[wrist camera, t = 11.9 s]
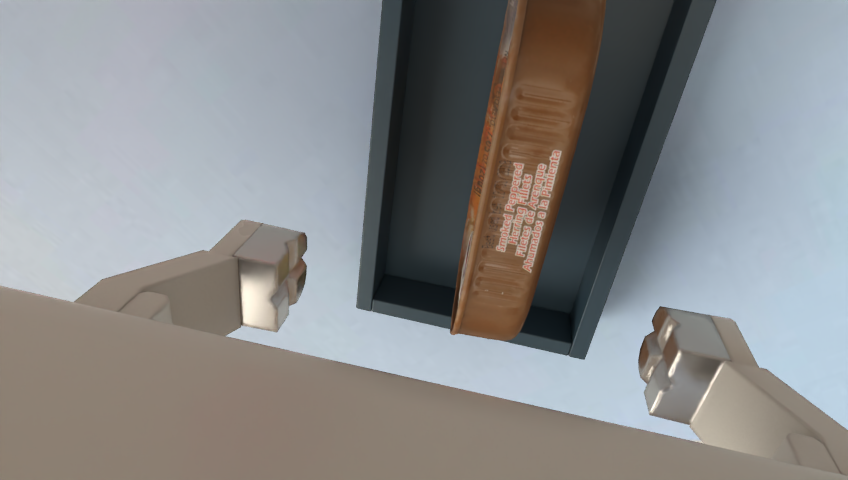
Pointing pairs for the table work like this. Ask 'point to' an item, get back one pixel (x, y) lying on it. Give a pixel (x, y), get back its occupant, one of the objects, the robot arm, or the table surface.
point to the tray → (459, 146)
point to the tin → (524, 159)
